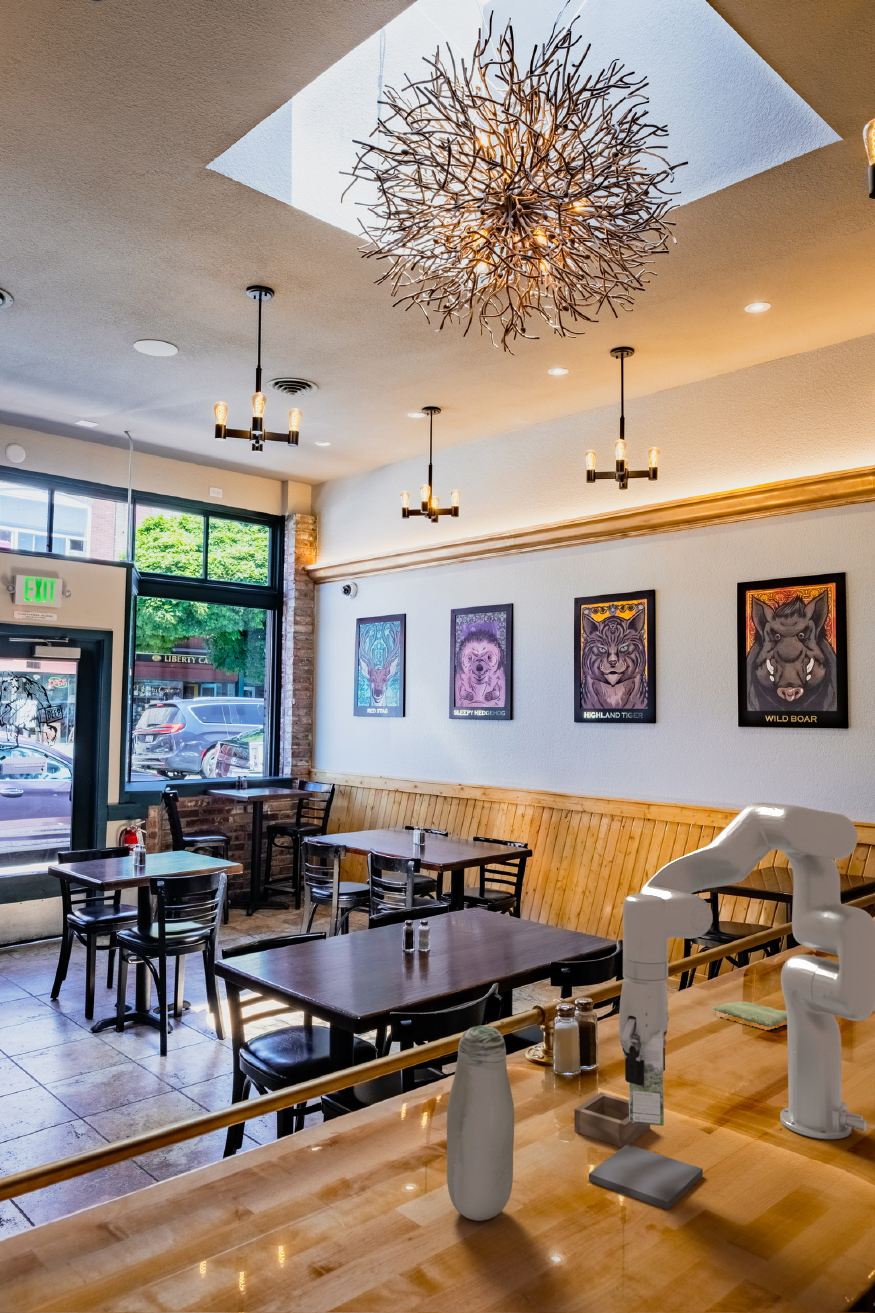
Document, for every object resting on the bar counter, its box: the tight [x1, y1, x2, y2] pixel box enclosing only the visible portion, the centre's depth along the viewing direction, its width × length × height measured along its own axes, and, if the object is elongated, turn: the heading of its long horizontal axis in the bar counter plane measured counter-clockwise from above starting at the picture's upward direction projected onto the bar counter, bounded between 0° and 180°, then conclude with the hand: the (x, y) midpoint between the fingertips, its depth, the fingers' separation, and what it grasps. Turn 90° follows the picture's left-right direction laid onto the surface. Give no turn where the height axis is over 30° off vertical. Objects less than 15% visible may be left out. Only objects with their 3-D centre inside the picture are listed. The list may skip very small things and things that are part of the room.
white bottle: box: [446, 1024, 515, 1222], centre depth 141 cm, size 10×10×28 cm
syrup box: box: [628, 1030, 665, 1127], centre depth 153 cm, size 6×6×14 cm
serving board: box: [588, 1144, 704, 1210], centre depth 152 cm, size 14×14×1 cm
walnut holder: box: [573, 1091, 651, 1148], centre depth 170 cm, size 10×10×4 cm
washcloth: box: [711, 1001, 787, 1027], centre depth 236 cm, size 13×18×3 cm
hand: (645, 1075), depth 153 cm, fingers closed on syrup box, 7 cm apart
